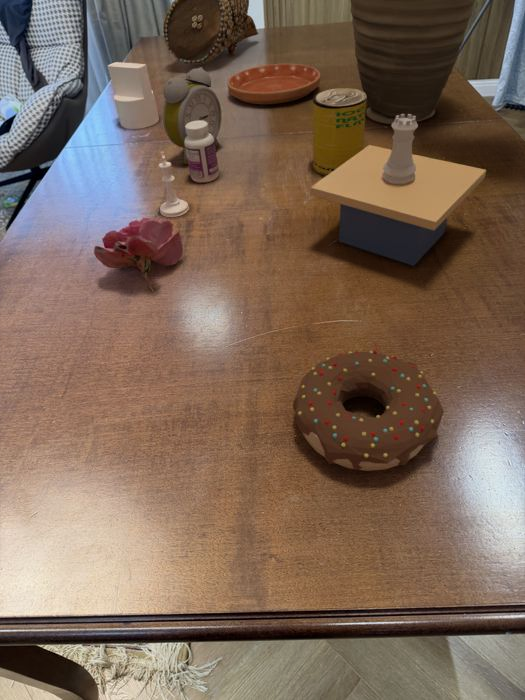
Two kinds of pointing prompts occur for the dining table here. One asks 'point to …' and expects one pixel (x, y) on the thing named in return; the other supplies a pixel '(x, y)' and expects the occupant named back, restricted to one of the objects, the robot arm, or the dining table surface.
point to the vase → (407, 53)
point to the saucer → (274, 83)
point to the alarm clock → (190, 106)
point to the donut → (359, 431)
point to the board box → (395, 202)
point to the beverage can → (337, 127)
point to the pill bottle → (201, 152)
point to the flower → (141, 245)
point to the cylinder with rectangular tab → (133, 95)
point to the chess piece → (171, 193)
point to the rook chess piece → (401, 152)
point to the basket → (206, 28)
